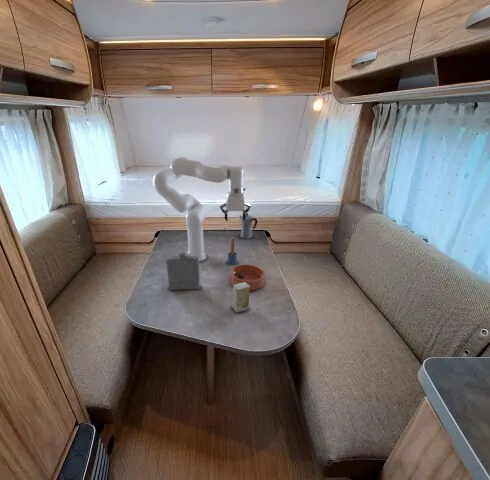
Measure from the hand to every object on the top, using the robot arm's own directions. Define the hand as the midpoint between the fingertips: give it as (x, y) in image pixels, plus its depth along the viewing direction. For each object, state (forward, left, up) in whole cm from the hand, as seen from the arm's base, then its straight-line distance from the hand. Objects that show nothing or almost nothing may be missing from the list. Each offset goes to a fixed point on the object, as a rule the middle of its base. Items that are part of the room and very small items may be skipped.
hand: (235, 220), depth 151 cm
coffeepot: (+14, +41, -27) cm, 51 cm away
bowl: (+5, -22, -27) cm, 36 cm away
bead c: (+7, -26, -25) cm, 37 cm away
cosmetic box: (-1, -44, -27) cm, 52 cm away
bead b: (+2, -26, -25) cm, 36 cm away
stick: (-1, 0, -27) cm, 27 cm away
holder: (-1, 0, -27) cm, 27 cm away
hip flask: (-28, -26, -27) cm, 47 cm away
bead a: (+2, -19, -25) cm, 32 cm away
